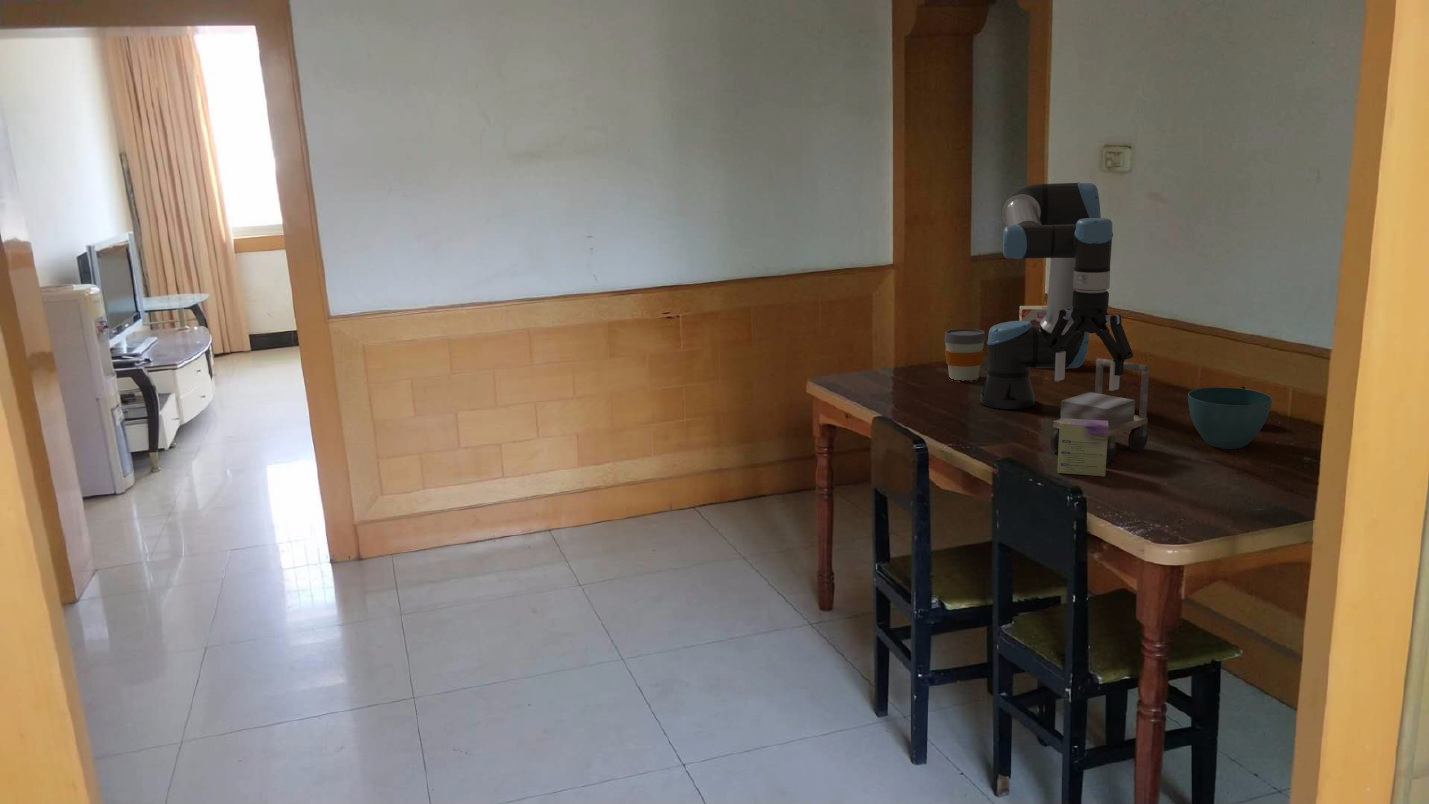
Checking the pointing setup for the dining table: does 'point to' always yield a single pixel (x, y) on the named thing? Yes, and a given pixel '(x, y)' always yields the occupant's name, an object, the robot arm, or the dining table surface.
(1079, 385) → the dining table surface
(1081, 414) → the trolley
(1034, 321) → the coffeecake box
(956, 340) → the reusable coffee cup
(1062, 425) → the box
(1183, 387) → the dining table surface
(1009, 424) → the dining table surface
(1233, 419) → the teal bowl
